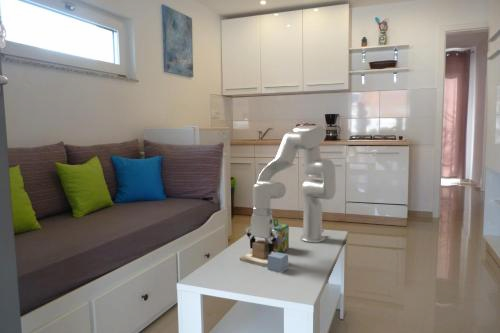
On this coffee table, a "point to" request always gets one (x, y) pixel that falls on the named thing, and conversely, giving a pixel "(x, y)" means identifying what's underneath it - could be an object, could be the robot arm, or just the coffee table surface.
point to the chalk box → (281, 237)
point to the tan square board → (255, 260)
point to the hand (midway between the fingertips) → (261, 249)
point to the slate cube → (278, 262)
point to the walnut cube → (260, 249)
